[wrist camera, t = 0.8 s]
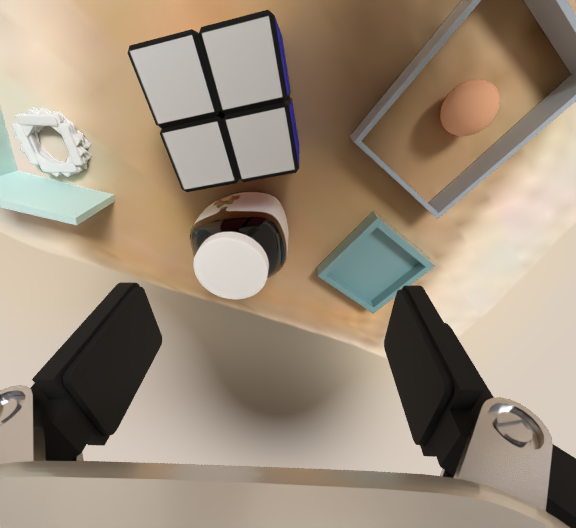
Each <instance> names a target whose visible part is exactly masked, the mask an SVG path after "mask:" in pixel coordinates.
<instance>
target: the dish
mask: <svg viewBox="0 0 576 528" xmlns="http://www.w3.org/2000/svg"><path fill="white" fill-rule="evenodd" d="M433 267H435V265H434V264H433V263H432V261H431V260H430V258H429V257H428V256H426V255H425V254H424V253H423V252H422V251H420V250H419V249H418V248H417V247H416V246H414V245H413V244H412V243H411V242H410V241H409V240H407V239H406V238H405V237H404V236H403V235H401V234H400V233H399V232H398V231H397V230H395V229H394V228H393V227H392V226H391V225H389V224H388V223H387V222H386V221H385V220H383V219H382V218H381V217H380V216H379V215H377V214H376V213H375V212H374V211H373V212H372V213H371V214H370V215H369V216H368V217H367V218H366V219H365V220H364V221H363V222H362V223H361V224H360V225H359V226H358V227H357V228H356V229H355V230H354V231H353V232H352V233H351V234H350V235H349V236H348V237H347V238H346V239H345V240H344V241H343V242H342V243H341V244H340V245H339V246H338V247H337V248H336V249H335V250H334V251H333V252H332V253H331V254H330V255H329V256H328V257H327V258H326V259H325V260H324V261H323V262H322V263H321V264H320V265H319V266H318V267H317V276H318V277H319V278H321V279H322V280H324V281H325V282H327V283H328V284H330V285H331V286H333V287H334V288H336V289H337V290H339V291H340V292H342V293H343V294H345V295H346V296H348V297H349V298H351V299H352V300H354V301H355V302H357V303H358V304H359V305H361V306H362V307H364V308H365V309H367V310H368V311H370V312H371V313H375V312H376V311H377V310H379V309H380V308H381V307H382V306H384V305H385V304H386V303H388V302H389V301H390V300H392V299H393V298H394V297H396V293H397V291H398V290H402V288H403V286H410V285H411V284H412V283H414V282H415V281H416V280H418V279H419V278H420V277H422V276H423V275H424V274H425V273H427V272H428V271H429V270H431V269H432V268H433Z"/></svg>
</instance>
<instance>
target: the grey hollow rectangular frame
mask: <svg viewBox="0 0 576 528" xmlns="http://www.w3.org/2000/svg"><path fill="white" fill-rule="evenodd" d="M480 1H481V0H462V1H461V2H460V3H459V4H458V6H457V7H456V8H455V9H454V10H453V12H452V13H451V14H450V15H449V17H448V18H447V19H446V20H445V21H444V23H443V24H442V25H441V26H440V27H439V29H438V30H437V31H436V32H435V33H434V35H433V36H432V37H431V38H430V40H429V41H428V42H427V43H426V44H425V46H424V47H423V48H422V49H421V50H420V52H419V53H418V54H417V55H416V57H415V58H414V59H413V60H412V61H411V63H410V64H409V65H408V66H407V67H406V69H405V70H404V71H403V72H402V74H401V75H400V76H399V77H398V78H397V80H396V81H395V82H394V83H393V84H392V86H391V87H390V88H389V89H388V90H387V92H386V93H385V94H384V95H383V97H382V98H381V99H380V100H379V101H378V103H377V104H376V105H375V106H374V107H373V109H372V110H371V111H370V112H369V114H368V115H367V116H366V117H365V118H364V120H363V121H362V122H361V123H360V124H359V126H358V127H357V128H356V129H355V131H354V132H353V133H352V134H351V135H350V138H351V139H352V141H353V142H354V143H355V144H357V145H358V146H359V147H360V148H361V149H362V150H363V151H364V152H365V153H366V154H367V155H369V156H370V157H371V158H372V159H373V160H374V161H375V162H376V163H377V164H378V165H379V166H381V167H382V168H383V169H384V170H385V171H386V172H387V173H388V174H389V175H390V176H391V177H392V178H394V179H395V180H396V181H397V182H398V183H399V184H400V185H401V186H402V187H403V188H404V189H406V190H407V191H408V192H409V193H410V194H411V195H412V196H413V197H414V198H415V199H416V200H418V201H419V202H420V203H421V204H422V205H423V206H424V207H425V208H426V209H427V210H428V211H430V212H431V213H432V214H433V215H434V216H435V217H436V218H437V219H438V218H439V217H441V216H442V215H443V214H444V213H445V212H446V211H448V210H449V209H450V208H451V207H452V206H453V205H455V204H456V203H457V202H458V201H459V200H460V199H462V198H463V197H464V196H465V195H466V194H467V193H469V192H470V191H471V190H472V189H473V188H475V187H476V186H477V185H478V184H479V183H480V182H482V181H483V180H484V179H485V178H486V177H487V176H489V175H490V174H491V173H492V172H493V171H494V170H496V169H497V168H498V167H499V166H500V165H501V164H503V163H504V162H505V161H506V160H507V159H509V158H510V157H511V156H512V155H513V154H514V153H516V152H517V151H518V150H519V149H520V148H521V147H523V146H524V145H525V144H526V143H527V142H528V141H530V140H531V139H532V138H533V137H534V136H535V135H537V134H538V133H539V132H540V131H541V130H543V129H544V128H545V127H546V126H547V125H548V124H550V123H551V122H552V121H553V120H554V119H555V118H557V117H558V116H559V115H560V114H561V113H562V112H564V111H565V110H566V109H567V108H568V107H569V106H571V105H572V104H573V103H574V102H575V101H576V14H575V12H574V11H573V9H572V7H571V6H570V4H569V2H568V1H567V0H523V1H524V2H525V4H526V5H527V7H528V8H529V10H530V11H531V13H532V15H533V16H534V18H535V19H536V21H537V22H538V24H539V25H540V27H541V28H542V30H543V31H544V33H545V35H546V36H547V38H548V39H549V41H550V42H551V44H552V45H553V47H554V48H555V50H556V52H557V53H558V55H559V56H560V58H561V59H562V61H563V62H564V64H565V65H566V67H567V69H568V70H569V72H570V73H571V75H570V76H569V77H568V78H567V79H566V80H565V81H563V82H562V83H561V84H560V85H559V86H558V87H557V88H556V89H555V90H553V91H552V92H551V93H550V94H549V95H548V96H547V97H546V98H545V99H543V100H542V101H541V102H540V103H539V104H538V105H537V106H536V107H535V108H533V109H532V110H531V111H530V112H529V113H528V114H527V115H526V116H525V117H523V118H522V119H521V120H520V121H519V122H518V123H517V124H516V125H514V126H513V127H512V128H511V129H510V130H509V131H508V132H507V133H506V134H504V135H503V136H502V137H501V138H500V139H499V140H498V141H497V142H496V143H494V144H493V145H492V146H491V147H490V148H489V149H488V150H487V151H486V152H484V153H483V154H482V155H481V156H480V157H479V158H478V159H477V160H476V161H474V162H473V163H472V164H471V165H470V166H469V167H468V168H467V169H466V170H464V171H463V172H462V173H461V174H460V175H459V176H458V177H457V178H456V179H454V180H453V181H452V182H451V183H450V184H449V185H448V186H447V187H446V188H444V189H443V190H442V191H441V192H440V193H439V194H438V195H437V196H436V197H434V198H433V199H432V200H431V201H430V202H429V203H427V202H426V201H425V200H424V199H423V198H422V197H421V196H420V195H419V194H418V193H417V192H416V191H414V190H413V189H412V188H411V187H410V186H409V185H408V184H407V183H406V182H405V181H404V180H403V179H402V178H401V177H399V176H398V175H397V174H396V173H395V172H394V171H393V170H392V169H391V168H390V167H389V166H388V165H387V164H385V163H384V162H383V161H382V160H381V159H380V158H379V157H378V156H377V155H376V154H375V153H374V152H373V151H372V150H370V149H369V148H368V147H367V146H366V145H365V144H364V143H363V142H362V140H363V138H364V137H365V136H366V135H367V134H368V133H369V131H370V130H371V129H372V128H373V127H374V126H375V124H376V123H377V122H378V121H379V120H380V118H381V117H382V116H383V115H384V114H385V113H386V111H387V110H388V109H389V108H390V107H391V106H392V104H393V103H394V102H395V101H396V100H397V99H398V97H399V96H400V95H401V94H402V93H403V92H404V90H405V89H406V88H407V87H408V86H409V85H410V83H411V82H412V81H413V80H414V79H415V77H416V76H417V75H418V74H419V73H420V72H421V70H422V69H423V68H424V67H425V66H426V65H427V63H428V62H429V61H430V60H431V59H432V58H433V56H434V55H435V54H436V53H437V52H438V51H439V49H440V48H441V47H442V46H443V45H444V44H445V42H446V41H447V40H448V39H449V38H450V36H451V35H452V34H453V33H454V32H455V31H456V29H457V28H458V27H459V26H460V25H461V24H462V22H463V21H464V20H465V19H466V18H467V17H468V15H469V14H470V13H471V12H472V11H473V10H474V8H475V7H476V6H477V5H478V4H479V3H480Z"/></svg>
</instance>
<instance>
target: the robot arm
mask: <svg viewBox="0 0 576 528" xmlns="http://www.w3.org/2000/svg"><path fill="white" fill-rule="evenodd" d="M161 344H162V336H161V333H160V330H159V327H158V325H157V322H156V320H155V317H154V315H153V312H152V309H151V307H150V304H149V301H148V299H147V296H146V293H145V291H144V289H143V288H142V287H140V286H139V284H137V283H119V284H117V285H116V286H115V288H114V289H113V290H112V291H111V292H110V293H109V294H108V295H107V296H106V298H105V299H104V300H103V301H102V302H101V303H100V304H99V305H98V306H97V307H96V309H95V310H94V311H93V312H92V313H91V314H90V315H89V316H88V318H87V319H86V320H85V321H84V322H83V323H82V324H81V326H79V328H78V329H77V330H76V331H75V332H74V333H73V334H72V335H71V337H70V338H69V339H68V340H67V341H66V342H65V343H64V344H63V345H62V347H61V348H60V349H59V350H58V351H57V352H56V353H55V355H53V357H52V358H51V359H50V360H49V361H48V362H47V363H46V364H45V366H44V367H43V368H42V369H41V370H40V371H39V372H38V373H37V375H36V376H35V377H34V378H33V379H32V380H33V381H34V382H35V384H34V385H33V386H32V387H31V388H28V387H27V386H20V385H19V386H13V387H9V388H6V389H3V390H0V528H576V459H575V458H574V457H572V456H571V455H569V454H567V453H566V452H564V451H563V450H561V449H560V448H558V447H556V446H555V445H553V444H552V438H551V435H550V433H549V431H548V429H547V428H546V426H545V425H544V424H543V422H542V421H541V420H540V419H539V418H538V417H537V416H536V415H535V414H534V413H533V412H531V411H530V410H529V409H527V408H526V407H524V406H523V405H521V404H519V403H517V402H514V401H512V400H510V399H505V398H494V397H493V396H492V394H491V392H490V391H489V389H488V388H487V386H486V384H485V383H484V381H483V379H482V378H481V377H480V375H479V373H478V371H477V370H476V368H475V366H474V365H473V363H472V361H471V360H470V358H469V356H468V355H467V353H466V352H465V350H464V348H463V347H462V345H461V343H460V342H459V340H458V338H457V337H456V335H455V334H454V332H453V330H452V329H451V327H450V326H449V325H448V324H446V323H444V322H443V321H442V319H441V317H440V316H439V314H438V312H437V310H436V309H435V307H434V305H433V304H432V302H431V300H430V299H429V297H428V295H427V294H426V292H425V290H424V289H423V287H422V286H403V288H402V290H398V291H397V293H396V297H395V301H394V305H393V309H392V313H391V317H390V321H389V324H388V328H387V332H386V336H385V340H384V347H385V352H386V355H387V358H388V361H389V364H390V368H391V370H392V374H393V377H394V380H395V383H396V386H397V390H398V393H399V396H400V399H401V402H402V405H403V408H404V411H405V415H406V418H407V421H408V424H409V428H410V431H411V434H412V437H413V440H414V442H415V444H416V445H420V446H421V449H422V452H423V455H424V456H437V459H438V462H439V465H440V466H441V467H442V468H443V469H442V472H441V475H440V476H432V475H424V474H407V473H390V472H374V471H353V470H329V469H304V468H279V467H278V468H277V467H251V466H250V467H249V466H224V465H195V464H165V463H130V462H99V461H83V455H82V451H83V449H84V447H85V446H86V444H88V445H105V443H106V442H107V440H108V438H109V436H110V435H112V434H114V433H115V431H116V430H117V428H118V426H119V425H120V423H121V420H122V419H123V417H124V415H125V413H126V411H127V409H128V407H129V405H130V404H131V402H132V400H133V398H134V396H135V394H136V392H137V390H138V388H139V386H140V385H141V383H142V381H143V379H144V377H145V375H146V373H147V371H148V369H149V367H150V365H151V364H152V362H153V360H154V358H155V356H156V354H157V352H158V350H159V348H160V346H161Z"/></svg>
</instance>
